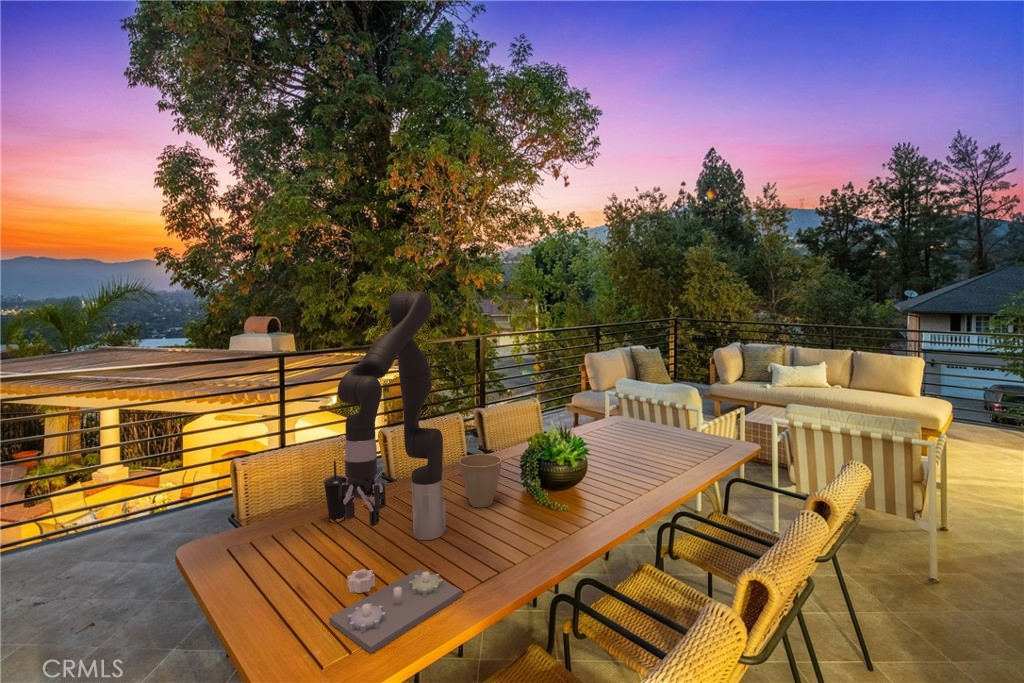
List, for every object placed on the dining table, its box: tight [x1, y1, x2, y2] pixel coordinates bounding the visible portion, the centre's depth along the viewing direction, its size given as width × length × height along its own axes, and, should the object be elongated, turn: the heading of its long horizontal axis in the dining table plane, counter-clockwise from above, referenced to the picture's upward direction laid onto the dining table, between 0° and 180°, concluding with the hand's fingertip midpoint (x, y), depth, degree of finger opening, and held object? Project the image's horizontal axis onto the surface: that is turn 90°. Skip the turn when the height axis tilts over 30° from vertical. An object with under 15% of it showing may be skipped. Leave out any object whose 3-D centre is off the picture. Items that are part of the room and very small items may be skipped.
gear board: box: [328, 568, 463, 655], centre depth 119 cm, size 26×16×5 cm, turn 140°
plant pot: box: [458, 453, 503, 509], centre depth 179 cm, size 15×15×16 cm
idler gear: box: [347, 568, 376, 594], centre depth 128 cm, size 6×6×3 cm
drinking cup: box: [322, 460, 346, 520], centre depth 168 cm, size 8×8×20 cm
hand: (361, 521), depth 125 cm, fingers open, 8 cm apart
